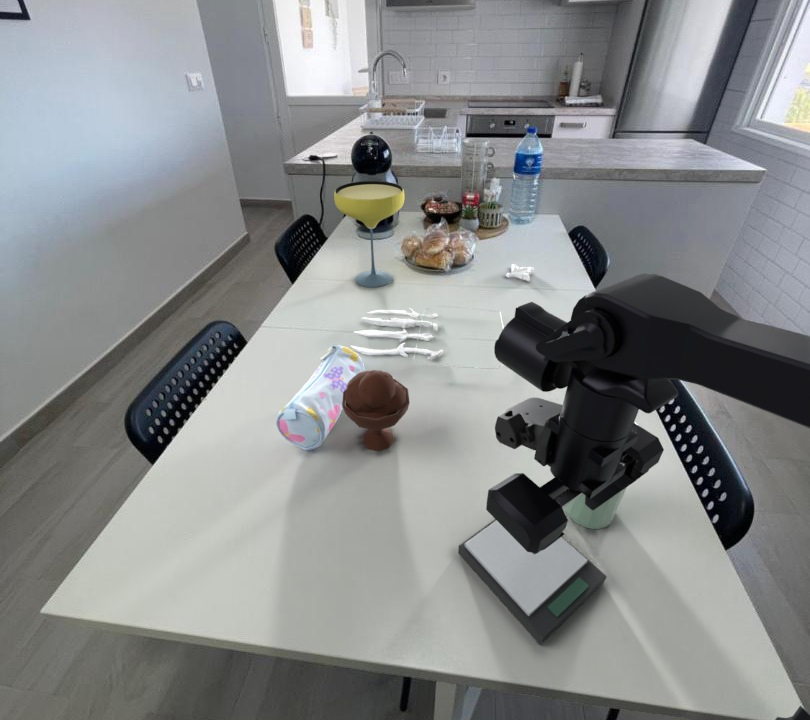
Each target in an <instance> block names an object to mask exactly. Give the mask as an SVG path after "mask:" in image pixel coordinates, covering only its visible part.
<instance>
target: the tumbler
mask: <svg viewBox="0 0 810 720" xmlns="http://www.w3.org/2000/svg"><path fill="white" fill-rule="evenodd" d="M627 488H628V487H626V488H625V489H623V490H622V491H620V492H619V493H618V494H616V495H615V496H613V497H612V498H611V499H609V500H608V501H606V502H605V503H603V504H602V505H601V506H599V507H598V508H596V509H595V510H591V509H590V508H589V507H587V506H586V504H585V497H586V496H585V495H584V494H582V495H581V496H579V497H578V498H576V499H575V500H574V501H572V502H571V503H569V504H568V505H566V506H565V507H564V508H563V510H564V512H565V514H566V515H567V516H568V518H570V519H571V520H572V521H573V522H575V523H576V524H577V525H579V526H581V527H584V528H587V529H591V530H600V529H604V528H607V527H608V526H609V525H610V524H611V522H612V521H613V520H614V517H615V515H616V513H617V511H618V508H619V507H620V504H621V501H622V499H623V496H624V494H625V492H626V490H627Z"/></svg>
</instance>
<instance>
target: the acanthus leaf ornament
mask: <svg viewBox="0 0 810 720" xmlns="http://www.w3.org/2000/svg"><path fill="white" fill-rule="evenodd" d="M510 269H511V271H510V272H507V273H506V275H505V276H506V278H518V279H520V280H523V281H526V282H530V279H531V278H530V275H531V274H533V271H534V269H535V267H534V266H527V267H526V266H521V267H519V266H518V264H515V263H512V264H510Z"/></svg>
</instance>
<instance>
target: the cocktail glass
mask: <svg viewBox="0 0 810 720" xmlns="http://www.w3.org/2000/svg"><path fill="white" fill-rule="evenodd" d="M333 197H334V198H333V199H334V204H335V207H336V208H337V209H338V211H340V212H341V213H342V214H344V215H345V216H347V217H350V218H352V219H354V220H357V221H359V222H361V223H363V225H364V226H365V227H366V228H367V229H369V232H370V233H369V235H370V256H371V259H370V260H371V266H370V267H371V268H370V270H366V271H362V272H360V273H358V274H357V275H356V276H355V278H354V281H355V283H356V284H357V285H359V286H361V287H365V288H380V287H385V286H387V285H389V284H390V283H392V281H393V276H392V274H391V273H389V272H387V271H384V270H377V269H376V266H375V264H376V263H375V253H374V234H373V233H374V232H373V229H375V228H376V227H377V225H378V224H379V223H380V222H382V221H383V220H385V219H387V218H390V217H391V216H393V215H395V214H396V213H397V212H399V211H400V210H401V209H402V207H403V206H404V203H405V190H404V188H403V186H402V185H399V184H397V183H394V182H390V181H381V180H364V181H363V180H362V181H354V182H348V183H344V184H342V185H339V186H338V187H336V188H335V190H334V194H333Z"/></svg>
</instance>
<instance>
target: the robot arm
mask: <svg viewBox="0 0 810 720" xmlns="http://www.w3.org/2000/svg"><path fill="white" fill-rule="evenodd" d="M503 327H504V329H503V328H502V330H501V333H500V334H499V336H498V339H496V340H495V342H494V348H493V349H494V351H493V352H494V356H495V359H496V360H497V361H498V362H499V363H501V365H502V364H503V366H505V367H506V368H508V369H509V370H511V371H512V372H513V373H515V374H517V376H519V377H521V378H522V379H523V380H525V381H526V382H528V383H529V384H531V386H534V387H535V388H537V389H538V390H539V391H541V392H543V393H548V392H552V391H554V390H556V389H558V390H562V389H565V388H566V390H565V394H564V398H563V402H562V404H561V403H558V402H555V401H554V402H553V401H551V400H548V399H544V398H541V397H529V398H527V399H525V400H523V401H521V402H519V403H517V404H515V405H513V406H511V407H509V408H508V409H506V410H505V411H504V412H502V413H501V414H498V415H497V418H496V421H495V424H494V433H495V438H496V440H497V441H498V442H499V444H501V445H504V446H506V447H508V448H510V449H512V450H516V449H518V448H520V447H522V446H523V447H525V448H528V449H529V450H532V451H535V453H534V457H533V459H534V461H536V462H537V463H538V464H540V465H541V466H542V467H546V466H548V467H549V469H550V472H551V474H552V476H553V478H551V479H550V480H548V481H547V482H546V483H544V484H542V485H541V486H539V485H538V484H537V483H535V482H534V481H533V480H532V479H531V478H530V477H529V476H527V475H526V474H525V473H524V472H520V473H519V472H518V473H516V472H515V473H514V474H511V475H510V476H509V477H506V478H505V479H504V480H502V481H500V482H499V483H497V484H496V485H493V486H492V487H491V488H489V489H488V491H487V497H486V504H485V505H486V507H485V510H486V511H487V512H488V514H490V515H491V516H492V517H493V518H494V520H495V519H496V520H497V521H498V522H499V523H500V524H501V525H502V526H503V527H504V528H505V529H506V530H507V531H508V532H509V534H510V535H511V536H512V537H513V538H514V539H515V540H516V541H517V542H518V543H519V544H520V545H521V546H522V547H523V548H524V549H525V550H526V551H527V552H531V553H533V554H536V553H538V552H540V551H541V550H544V549H546V548H547V547H549V546H550V545H551V544H553V543H554V542H555V541H557V540H558V539H559V538H561V537H563V536H564V535H565V533H564V531H565V530H566V528H567V525H568V522H569V519H568V518H567V514H566V512H565V510H564V507H565V506H566V505H568V504H569V503H571V502H572V501H574V500H575V499H576V498H578V497H579V496H581V495H582V494H584V495H585V496H586V497H585V504H586V506H587V507H589V508H590V509H591V510H595V509H596V508H598V507H599V506H601V505H602V504H603V503H605V502H606V501H608V500H609V499H611V498H612V497H613V496H615V495H616V494H618V493H619V492H620V491H622V490H623V489H625V488H626V487H627V488H628V487H629V486H631V485H632V484H633V483H635V482H636V481H637V480H639V479H640V478H641V477H643V476H644V475H645V474H647V473H648V472H649V471H650V469H652V468H653V467H655V466H656V465H657V464H658V463H659V462H660V460H661V457H662V454H663V453H664V451H665V449H664V447H663V445H662V443H661V440H660V439H659V437H657V436H656V435H655V434H653V433H651V432H650V431H648V430H646V429H645V428H643V427H642V426H640V425H639V424H637V423H636V422H635V421H636V418H637V416H638V413H639V411H642V412H643V413H645V414H651V413H653V412H655V411H657V410H658V409H660V408H661V407H663V406H665V405H666V404H668V403H670V402H671V401H673V400H674V399H677V397H678V396H679V392H678V389H676V386H675V385H674V383H673V382H672V380H674V381H675V380H677V381H682V382H686V383H689V384H694V385H697V386H701V387H703V388H706V389H708V390H711V391H713V392H715V393H718V394H721V395H722V396H723V395H724V396H726V397H728V398H731V399H734V400H737V401H739V402H741V403H744V404H747V405H749V406H751V407H753V408H756V409H760V410H761V411H764V412H767V413H770V414H772V415H775V416H777V417H780V418H781V419H784V420H787V421H790V422H792V423H794V424H797V425H800V426H802V427H805V428H808V429H810V335H807V334H805V333H800V332H796V331H792V330H789V329H785V328H781V327H777V326H774V325H768V324H766V323H761V322H759V321H755V320H750V319H746V318H743V317H740V316H738V315H735V314H733V313H731V312H728V311H727V310H724V309H722V308H721V307H719V306H718V305H717V304H715V303H714V302H713V301H712V300H711V299H710V298H709V297H707V296H706V295H705V294H703V293H702V292H700V291H699V290H696V289H694V288H692V287H690V286H687V285H685V284H682V283H679V282H677V281H674V280H672V279H670V278H667V277H665V276H662V275H659V274H656V273H642V274H637V275H633V276H631V277H629V278H626V279H624V280H621V281H618V282H616V283H613V284H610V285H608V286H605V287H602V288H600V289H597V290H594V291H591V292H590V293H589V292H588V293H587V294H586V295H584V296H582V297H581V298H580V299H578V301H577V302H576V303H575V305H574V306H573V309H572V313H571V316H570V320H569V321H566V320H564V319H561V318H560V317H558V316H556V315H555V314H553V313H550V312H549V311H547V310H545V308H544V307H542V306H541V305H540V304H537V303H536V302H534V301H530V302H527V303H524V304H522V305H519V306H517V307H515V312H514V317H513V318H512V319H510V320H509V321H508V323H507V324H505V326H503ZM627 488H626V489H627ZM774 720H810V713H809V712H808V711H806V709H805V708H804V707H802V706H801V705H799V707H798V708H797V710H796V711H795V712H794V714H793V715H791V716H788V717H781V716H776V718H775V719H774Z"/></svg>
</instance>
